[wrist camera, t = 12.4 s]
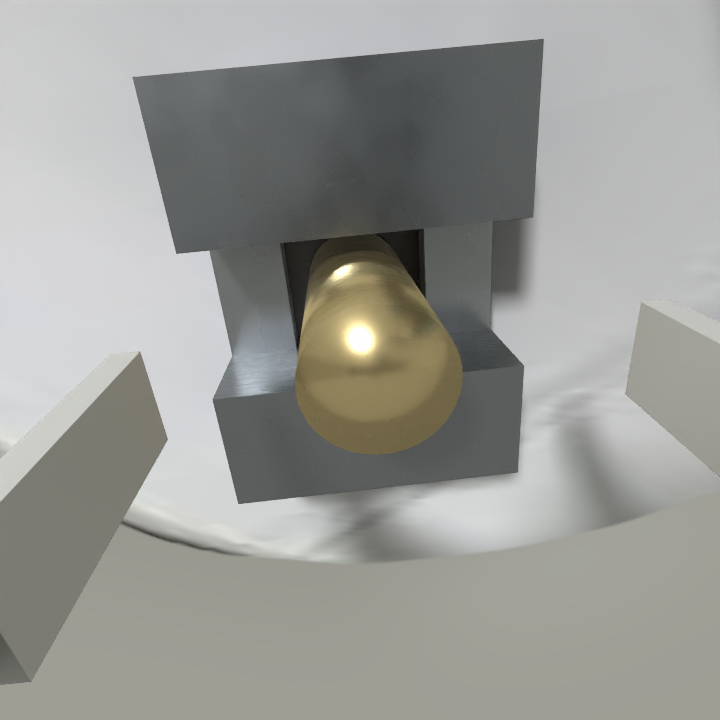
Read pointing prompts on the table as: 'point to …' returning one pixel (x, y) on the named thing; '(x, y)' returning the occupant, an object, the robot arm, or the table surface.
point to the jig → (351, 233)
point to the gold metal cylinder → (372, 351)
